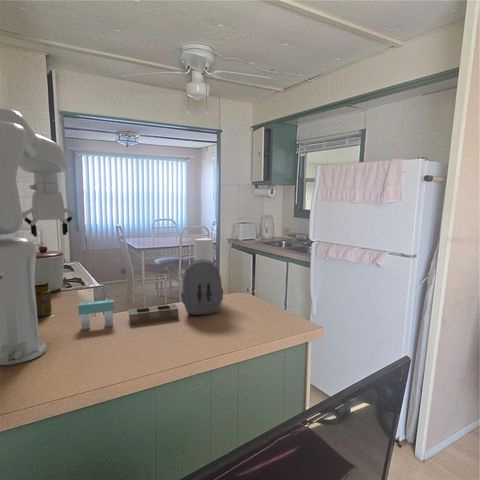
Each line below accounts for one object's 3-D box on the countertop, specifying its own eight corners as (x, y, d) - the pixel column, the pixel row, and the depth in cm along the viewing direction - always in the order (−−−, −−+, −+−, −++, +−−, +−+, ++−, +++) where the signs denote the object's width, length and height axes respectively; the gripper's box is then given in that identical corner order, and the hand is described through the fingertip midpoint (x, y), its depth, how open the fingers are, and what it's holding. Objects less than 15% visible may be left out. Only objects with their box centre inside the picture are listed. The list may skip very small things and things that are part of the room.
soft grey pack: (221, 308, 128) (220, 256, 126) (225, 315, 120) (224, 260, 118) (180, 312, 124) (178, 258, 122) (182, 320, 116) (181, 262, 114)
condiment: (51, 311, 128) (48, 280, 127) (56, 317, 122) (53, 284, 120) (28, 315, 124) (26, 283, 122) (32, 321, 117) (29, 287, 116)
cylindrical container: (197, 301, 138) (196, 240, 135) (195, 297, 144) (193, 238, 142) (215, 300, 140) (213, 239, 137) (212, 295, 146) (210, 238, 144)
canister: (62, 283, 172) (59, 242, 170) (72, 290, 159) (69, 245, 156) (20, 290, 161) (17, 245, 159) (26, 297, 147) (22, 249, 145)
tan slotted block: (178, 318, 118) (178, 308, 118) (130, 324, 112) (129, 314, 112) (175, 313, 124) (175, 303, 123) (129, 319, 118) (128, 309, 118)
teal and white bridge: (114, 325, 112) (113, 301, 111) (79, 330, 108) (78, 305, 108) (114, 322, 115) (113, 299, 114) (80, 326, 111) (79, 303, 110)
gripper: (19, 187, 116) (23, 237, 117) (75, 188, 126) (77, 234, 128) (17, 188, 121) (21, 236, 123) (70, 189, 132) (73, 233, 134)
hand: (50, 235), depth 126 cm, fingers open, 9 cm apart
